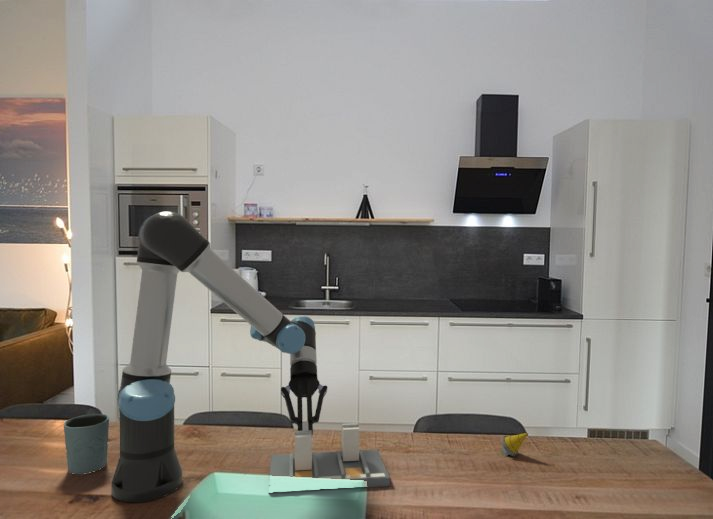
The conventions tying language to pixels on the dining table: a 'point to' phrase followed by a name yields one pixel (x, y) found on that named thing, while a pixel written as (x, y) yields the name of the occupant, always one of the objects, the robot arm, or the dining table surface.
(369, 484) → the switch bank
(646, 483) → the dining table surface
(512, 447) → the yellow spinning top
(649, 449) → the dining table surface
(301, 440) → the tab left
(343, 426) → the tab right
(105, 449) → the teal cup
